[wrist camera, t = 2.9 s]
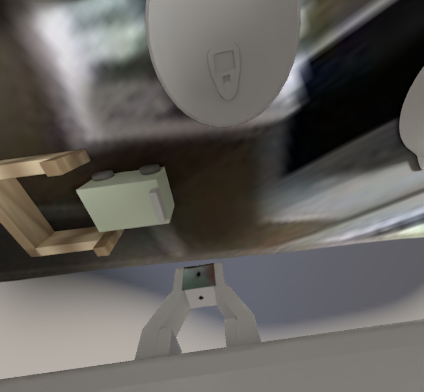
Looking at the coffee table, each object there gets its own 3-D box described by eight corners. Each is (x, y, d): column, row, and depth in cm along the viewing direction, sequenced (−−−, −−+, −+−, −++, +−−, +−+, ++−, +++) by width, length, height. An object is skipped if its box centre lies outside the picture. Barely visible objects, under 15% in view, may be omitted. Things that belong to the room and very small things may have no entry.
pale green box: (163, 161, 22) (151, 178, 17) (175, 207, 26) (168, 233, 20) (96, 170, 22) (64, 190, 17) (117, 215, 26) (96, 242, 21)
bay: (85, 148, 21) (53, 160, 16) (124, 230, 27) (108, 255, 22) (-9, 161, 21) (-66, 176, 17) (50, 240, 27) (21, 266, 23)
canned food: (199, 129, 20) (196, 150, 11) (160, 53, 17) (103, -17, 7) (259, 96, 19) (317, 85, 9) (230, 6, 15) (275, -161, 6)
